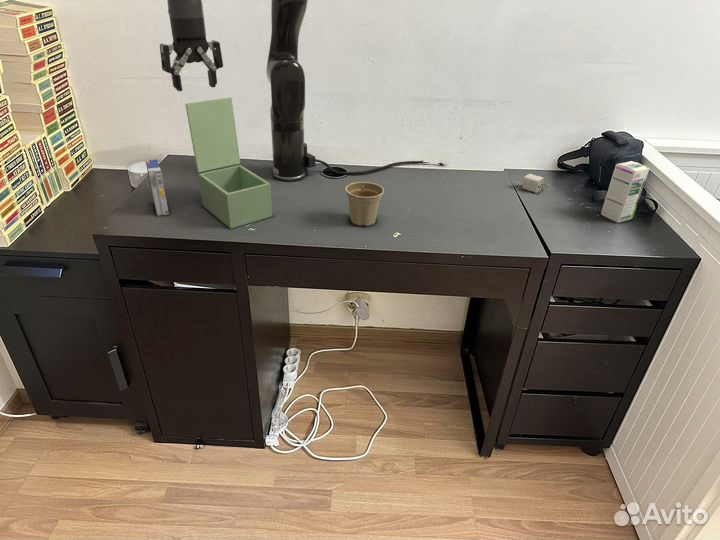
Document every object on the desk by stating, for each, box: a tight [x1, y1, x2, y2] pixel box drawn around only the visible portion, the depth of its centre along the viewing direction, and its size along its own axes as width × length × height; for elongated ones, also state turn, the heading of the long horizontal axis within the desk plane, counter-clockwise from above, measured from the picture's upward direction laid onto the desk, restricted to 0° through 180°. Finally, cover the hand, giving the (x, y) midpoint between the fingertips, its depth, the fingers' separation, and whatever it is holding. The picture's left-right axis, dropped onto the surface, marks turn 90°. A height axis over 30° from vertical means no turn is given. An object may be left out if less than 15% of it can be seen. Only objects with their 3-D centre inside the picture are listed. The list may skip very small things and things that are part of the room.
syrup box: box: [600, 160, 651, 224], centre depth 130 cm, size 6×6×14 cm
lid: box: [184, 97, 241, 173], centre depth 127 cm, size 16×12×6 cm
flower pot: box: [344, 181, 385, 227], centre depth 124 cm, size 9×9×9 cm
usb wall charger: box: [521, 173, 551, 194], centre depth 146 cm, size 4×7×4 cm, turn 49°
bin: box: [197, 164, 273, 229], centre depth 126 cm, size 16×12×9 cm
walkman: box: [145, 159, 170, 216], centre depth 125 cm, size 8×3×12 cm, turn 25°
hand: (196, 88), depth 123 cm, fingers open, 8 cm apart
